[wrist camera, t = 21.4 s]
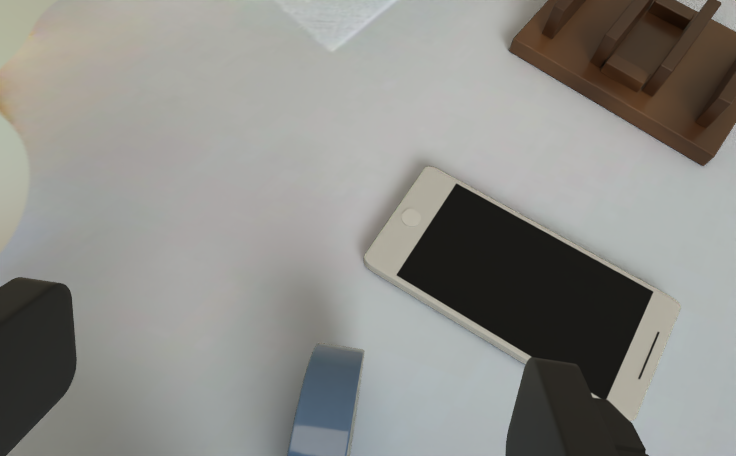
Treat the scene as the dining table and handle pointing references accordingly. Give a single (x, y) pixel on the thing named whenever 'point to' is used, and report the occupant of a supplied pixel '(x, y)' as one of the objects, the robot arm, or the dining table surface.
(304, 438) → the disc
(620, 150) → the dining table surface
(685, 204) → the dining table surface
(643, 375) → the smartphone
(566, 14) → the rack
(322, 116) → the dining table surface
